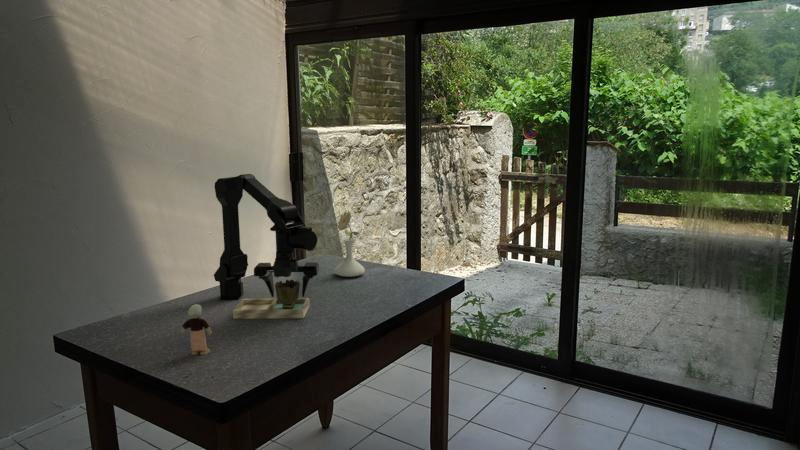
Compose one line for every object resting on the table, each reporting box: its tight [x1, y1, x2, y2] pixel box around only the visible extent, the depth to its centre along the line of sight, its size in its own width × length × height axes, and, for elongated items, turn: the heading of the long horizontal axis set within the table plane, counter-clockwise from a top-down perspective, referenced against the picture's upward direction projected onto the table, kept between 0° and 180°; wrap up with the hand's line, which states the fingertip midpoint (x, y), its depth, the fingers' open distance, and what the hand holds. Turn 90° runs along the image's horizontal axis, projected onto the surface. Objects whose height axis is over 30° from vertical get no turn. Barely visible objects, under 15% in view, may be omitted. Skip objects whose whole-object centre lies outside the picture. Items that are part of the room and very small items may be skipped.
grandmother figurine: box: [180, 303, 213, 356], centre depth 141 cm, size 8×4×13 cm, turn 98°
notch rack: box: [232, 297, 311, 320], centre depth 171 cm, size 21×11×2 cm, turn 90°
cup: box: [274, 279, 301, 309], centre depth 170 cm, size 8×7×8 cm
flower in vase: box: [334, 210, 366, 278], centre depth 208 cm, size 13×11×25 cm
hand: (288, 296), depth 170 cm, fingers open, 9 cm apart
